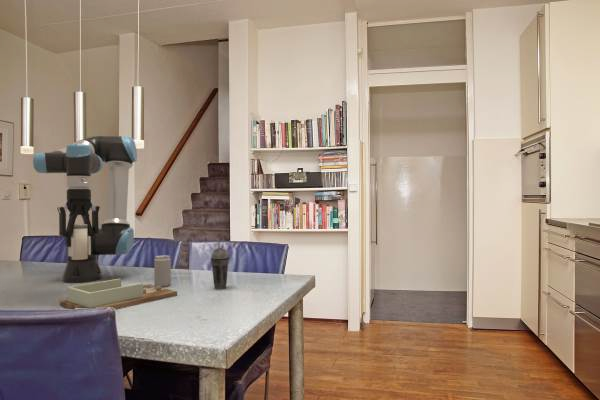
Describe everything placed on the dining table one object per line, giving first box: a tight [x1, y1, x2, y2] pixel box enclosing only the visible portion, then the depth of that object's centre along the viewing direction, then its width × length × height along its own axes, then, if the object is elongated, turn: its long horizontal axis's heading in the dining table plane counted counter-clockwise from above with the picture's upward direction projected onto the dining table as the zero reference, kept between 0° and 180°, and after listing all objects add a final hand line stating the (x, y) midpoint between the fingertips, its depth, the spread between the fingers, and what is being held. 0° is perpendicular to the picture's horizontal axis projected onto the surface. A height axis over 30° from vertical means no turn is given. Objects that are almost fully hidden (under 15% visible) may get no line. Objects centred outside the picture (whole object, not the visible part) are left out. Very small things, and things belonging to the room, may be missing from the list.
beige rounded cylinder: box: [71, 223, 88, 260], centre depth 149 cm, size 5×5×12 cm
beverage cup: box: [210, 237, 230, 290], centre depth 168 cm, size 7×7×20 cm
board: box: [59, 283, 178, 310], centre depth 149 cm, size 20×32×3 cm, turn 142°
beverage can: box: [153, 254, 172, 288], centre depth 172 cm, size 6×6×12 cm
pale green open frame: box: [66, 278, 144, 308], centre depth 144 cm, size 15×19×4 cm
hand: (79, 255), depth 149 cm, fingers closed on beige rounded cylinder, 5 cm apart
